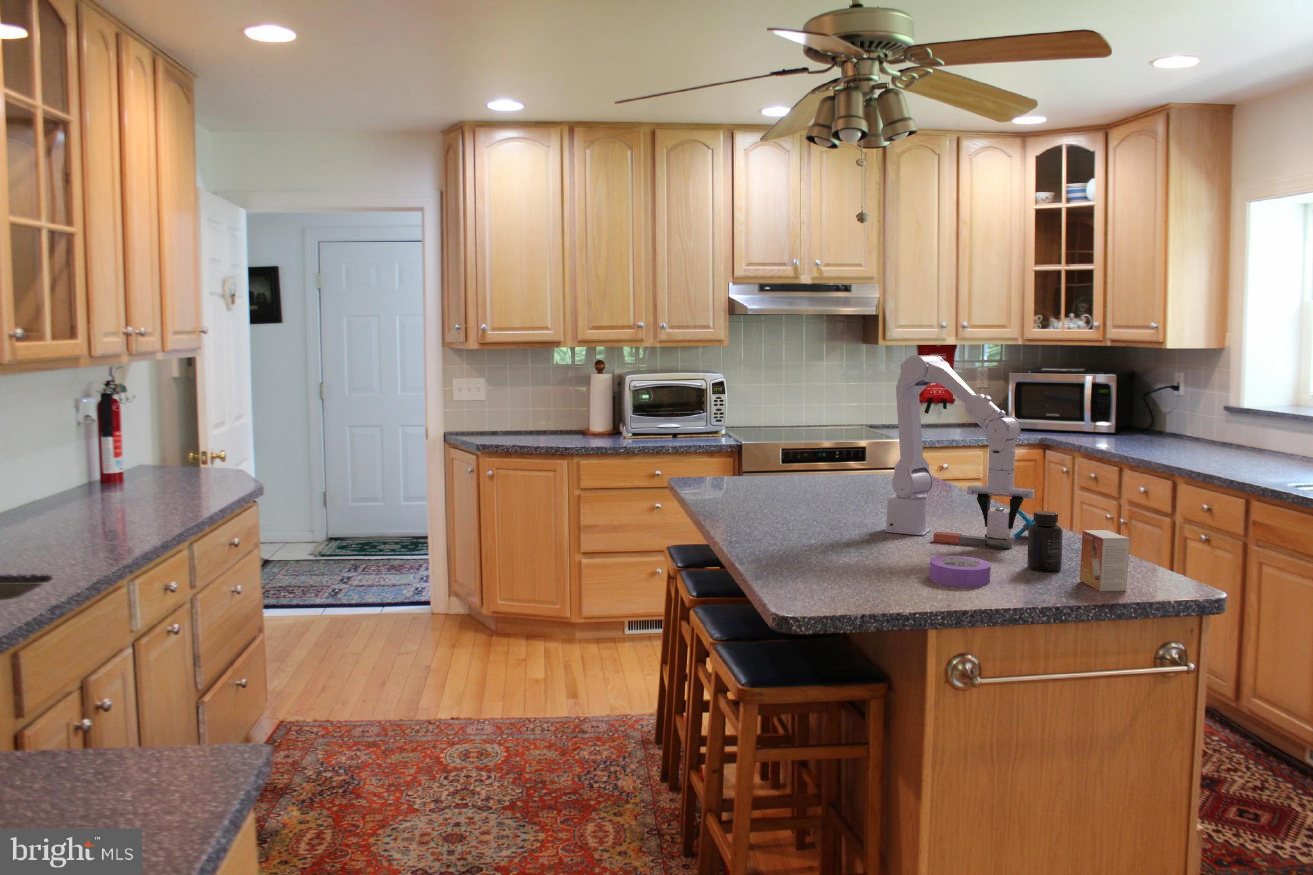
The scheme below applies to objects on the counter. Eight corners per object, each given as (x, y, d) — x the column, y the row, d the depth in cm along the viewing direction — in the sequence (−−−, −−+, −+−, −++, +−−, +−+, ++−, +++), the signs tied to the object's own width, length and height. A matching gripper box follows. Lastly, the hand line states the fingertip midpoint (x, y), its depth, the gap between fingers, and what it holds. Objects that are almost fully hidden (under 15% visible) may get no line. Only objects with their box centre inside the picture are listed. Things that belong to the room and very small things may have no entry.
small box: (1078, 581, 202) (1081, 529, 201) (1105, 580, 203) (1108, 529, 202) (1099, 591, 194) (1102, 537, 193) (1127, 591, 195) (1130, 537, 194)
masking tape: (1002, 585, 199) (1003, 566, 199) (950, 589, 196) (951, 570, 196) (968, 572, 210) (968, 554, 210) (918, 575, 207) (919, 557, 207)
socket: (986, 536, 233) (988, 509, 232) (989, 532, 237) (991, 505, 236) (1007, 538, 231) (1008, 511, 230) (1010, 534, 235) (1011, 507, 234)
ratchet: (932, 543, 238) (932, 521, 238) (937, 538, 243) (938, 517, 243) (1009, 550, 230) (1010, 528, 230) (1013, 545, 235) (1014, 523, 235)
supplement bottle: (1060, 566, 215) (1063, 511, 214) (1062, 573, 208) (1065, 516, 207) (1026, 564, 217) (1028, 509, 216) (1026, 571, 211) (1029, 514, 209)
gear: (1049, 537, 237) (1018, 505, 240) (1029, 554, 238) (999, 522, 241) (1049, 535, 247) (1019, 504, 250) (1030, 551, 249) (1001, 520, 251)
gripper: (965, 469, 232) (963, 527, 233) (1032, 473, 225) (1029, 533, 227) (971, 465, 238) (969, 522, 240) (1036, 469, 232) (1033, 527, 233)
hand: (999, 527), depth 234 cm, fingers closed on socket, 5 cm apart
